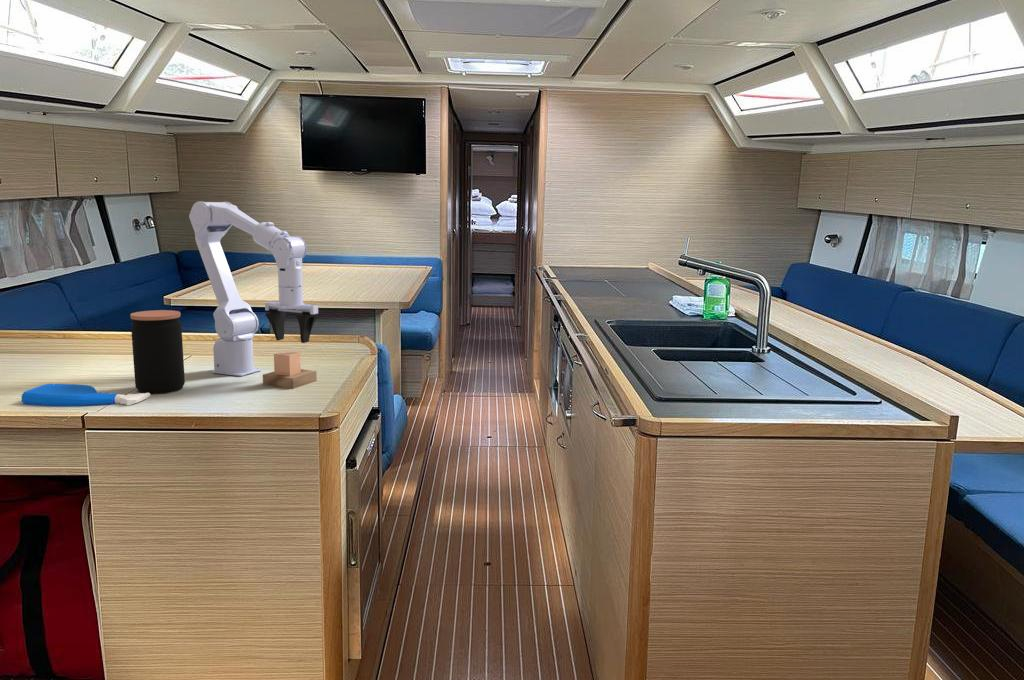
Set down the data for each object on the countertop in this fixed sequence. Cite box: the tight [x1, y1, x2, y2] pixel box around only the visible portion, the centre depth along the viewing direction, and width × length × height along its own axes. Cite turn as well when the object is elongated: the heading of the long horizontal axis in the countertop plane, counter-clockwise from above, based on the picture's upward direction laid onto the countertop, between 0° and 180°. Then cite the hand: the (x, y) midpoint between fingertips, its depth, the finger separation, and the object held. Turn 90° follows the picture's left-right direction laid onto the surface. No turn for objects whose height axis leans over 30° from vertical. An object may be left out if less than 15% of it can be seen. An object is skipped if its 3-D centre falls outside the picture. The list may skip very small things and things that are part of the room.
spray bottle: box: [21, 383, 151, 407], centre depth 169 cm, size 3×11×24 cm
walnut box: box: [262, 368, 317, 389], centre depth 189 cm, size 9×9×3 cm
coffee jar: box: [129, 309, 186, 395], centre depth 179 cm, size 11×11×18 cm
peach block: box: [273, 350, 302, 376], centre depth 188 cm, size 4×4×5 cm
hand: (292, 341), depth 190 cm, fingers open, 7 cm apart
